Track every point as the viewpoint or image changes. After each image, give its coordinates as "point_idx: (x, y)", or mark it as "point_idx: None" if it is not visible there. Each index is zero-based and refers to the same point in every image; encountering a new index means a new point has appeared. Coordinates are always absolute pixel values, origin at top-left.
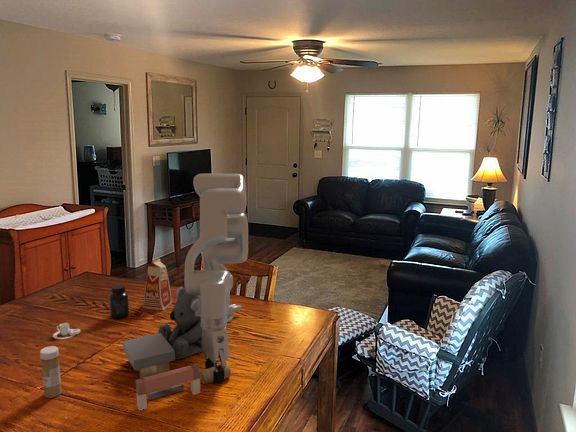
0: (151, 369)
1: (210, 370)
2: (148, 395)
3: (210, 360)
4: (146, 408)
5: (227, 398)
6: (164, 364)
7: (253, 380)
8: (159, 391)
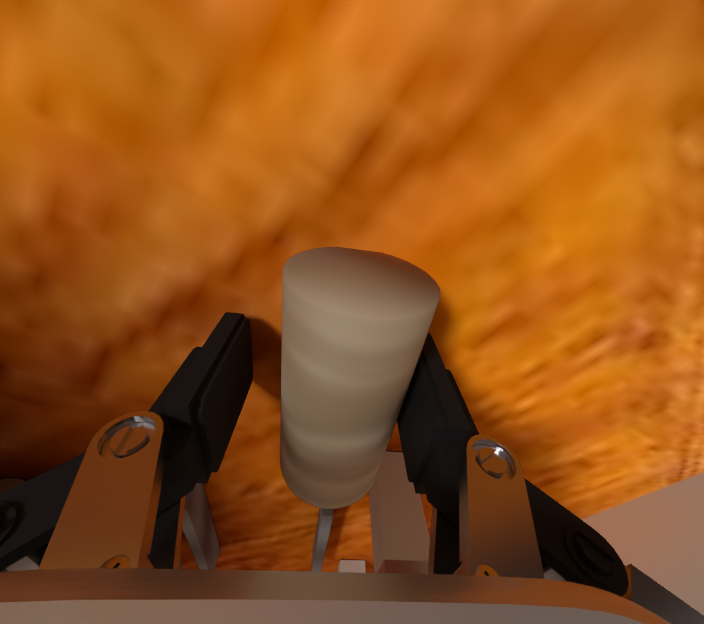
0: None
1: (355, 472)
2: None
3: (197, 456)
4: (364, 562)
5: (581, 389)
6: None
7: (653, 59)
8: (321, 564)
